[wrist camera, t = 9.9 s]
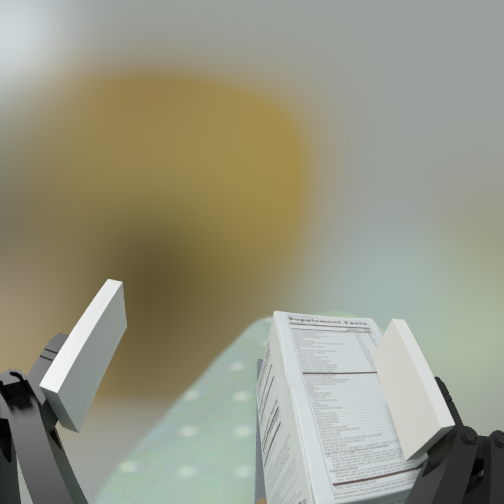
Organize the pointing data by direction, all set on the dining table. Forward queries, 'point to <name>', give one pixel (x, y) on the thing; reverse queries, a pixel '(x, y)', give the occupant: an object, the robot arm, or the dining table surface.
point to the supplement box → (328, 416)
